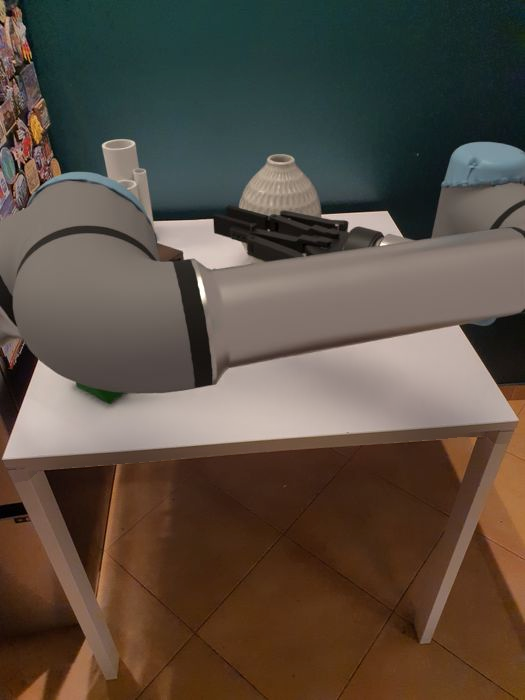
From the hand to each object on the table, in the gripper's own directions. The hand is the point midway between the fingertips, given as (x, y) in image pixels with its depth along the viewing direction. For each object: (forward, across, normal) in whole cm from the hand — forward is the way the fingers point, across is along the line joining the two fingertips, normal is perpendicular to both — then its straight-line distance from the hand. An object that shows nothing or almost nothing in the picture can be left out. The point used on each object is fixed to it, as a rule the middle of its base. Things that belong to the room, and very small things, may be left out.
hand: (221, 219), depth 74 cm
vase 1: (+38, +19, -22) cm, 48 cm away
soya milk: (+10, -18, -22) cm, 30 cm away
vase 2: (+5, +25, -22) cm, 34 cm away
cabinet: (+20, 0, -22) cm, 30 cm away
